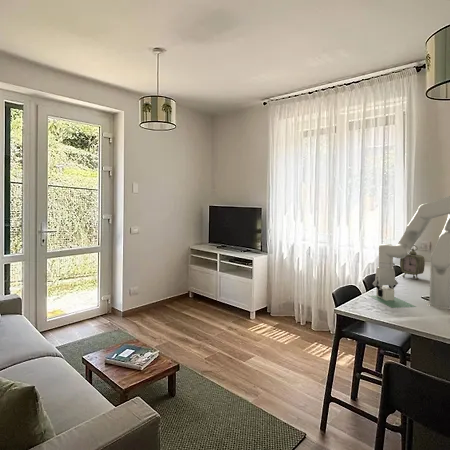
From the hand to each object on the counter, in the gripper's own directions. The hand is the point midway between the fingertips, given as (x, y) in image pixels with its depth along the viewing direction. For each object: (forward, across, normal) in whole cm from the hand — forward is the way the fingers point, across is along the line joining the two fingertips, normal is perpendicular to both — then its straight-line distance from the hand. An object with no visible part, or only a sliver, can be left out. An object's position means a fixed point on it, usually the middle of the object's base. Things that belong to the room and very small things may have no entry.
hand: (385, 295), depth 201 cm
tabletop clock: (+3, -53, -51) cm, 74 cm away
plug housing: (+1, 0, 0) cm, 1 cm away
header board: (+2, 0, +6) cm, 6 cm away
